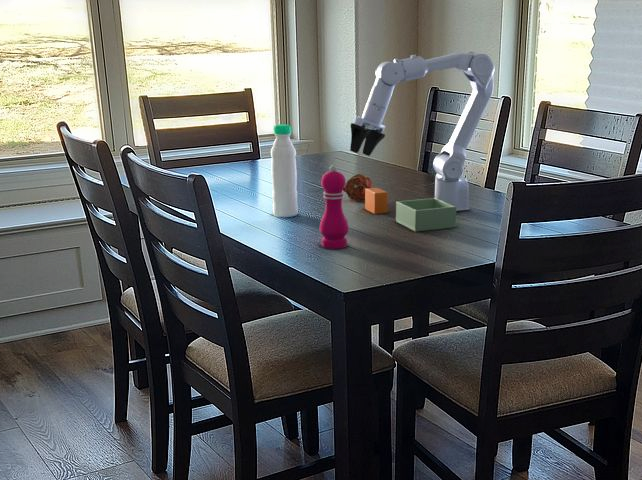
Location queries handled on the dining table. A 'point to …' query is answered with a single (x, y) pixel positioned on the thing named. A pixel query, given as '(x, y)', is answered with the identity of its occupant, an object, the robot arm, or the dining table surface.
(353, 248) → the dining table surface
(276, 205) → the water bottle
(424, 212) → the open green box
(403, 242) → the dining table surface
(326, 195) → the pepper mill
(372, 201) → the orange rectangular block
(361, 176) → the brown rough oval
